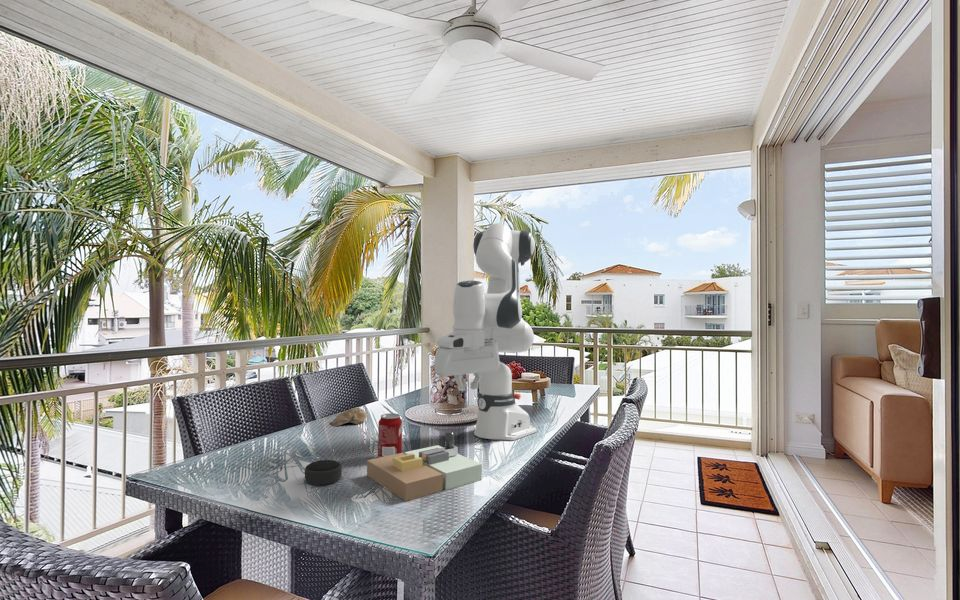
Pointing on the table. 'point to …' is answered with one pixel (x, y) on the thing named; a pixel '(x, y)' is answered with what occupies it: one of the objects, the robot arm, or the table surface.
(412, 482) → the door and jamb
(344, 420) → the oyster shell
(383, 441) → the soda can
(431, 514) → the table surface
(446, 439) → the bolt
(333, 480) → the smart speaker
